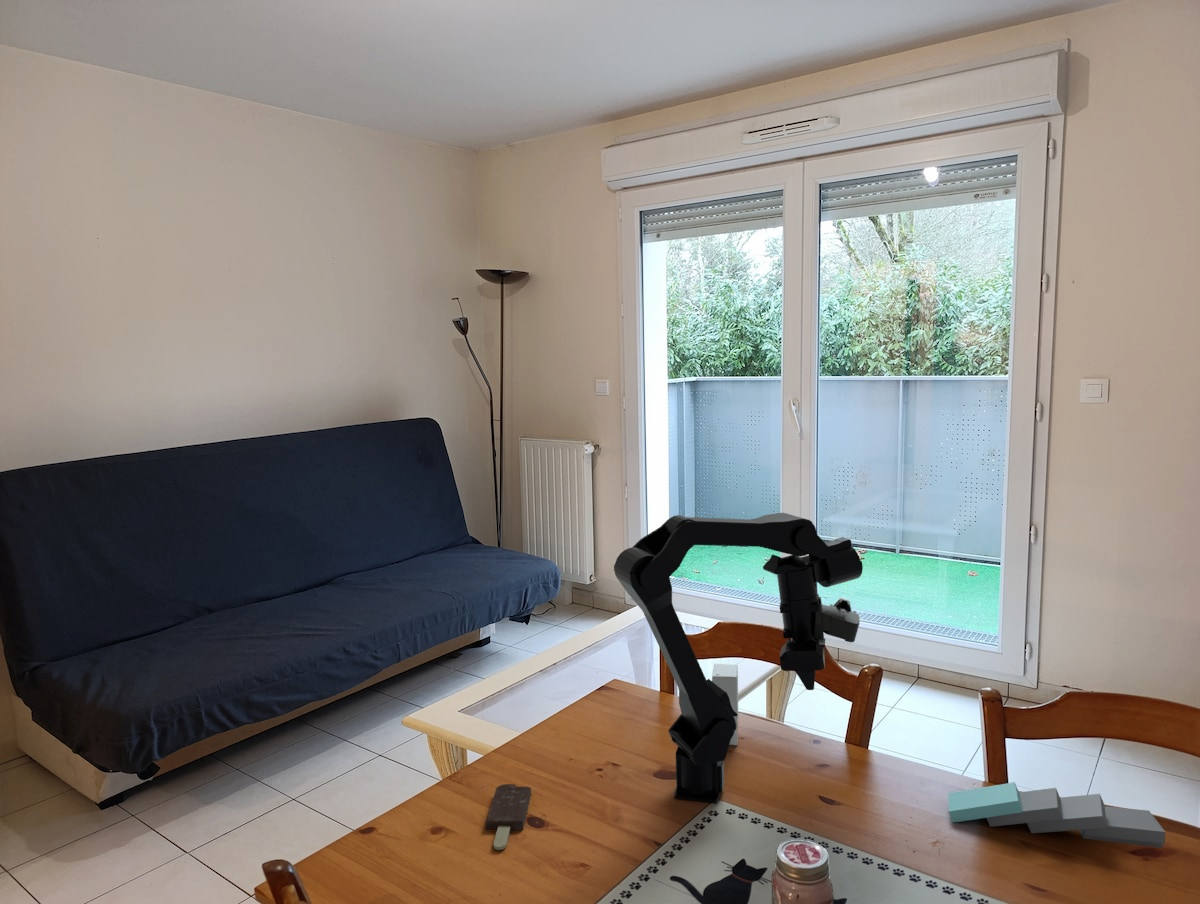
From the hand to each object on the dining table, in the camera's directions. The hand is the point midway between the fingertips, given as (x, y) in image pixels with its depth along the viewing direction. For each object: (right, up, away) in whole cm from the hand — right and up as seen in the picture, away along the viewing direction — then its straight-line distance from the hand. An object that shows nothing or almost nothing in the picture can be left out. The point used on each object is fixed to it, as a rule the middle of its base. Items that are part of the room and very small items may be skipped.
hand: (810, 689), depth 122 cm
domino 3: (+31, -12, -18) cm, 38 cm away
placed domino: (+16, -13, -13) cm, 24 cm away
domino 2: (+25, -12, -16) cm, 33 cm away
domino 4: (+31, -13, -18) cm, 38 cm away
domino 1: (+21, -13, -15) cm, 28 cm away
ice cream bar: (-46, -16, -11) cm, 50 cm away
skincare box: (-11, -12, +12) cm, 20 cm away
